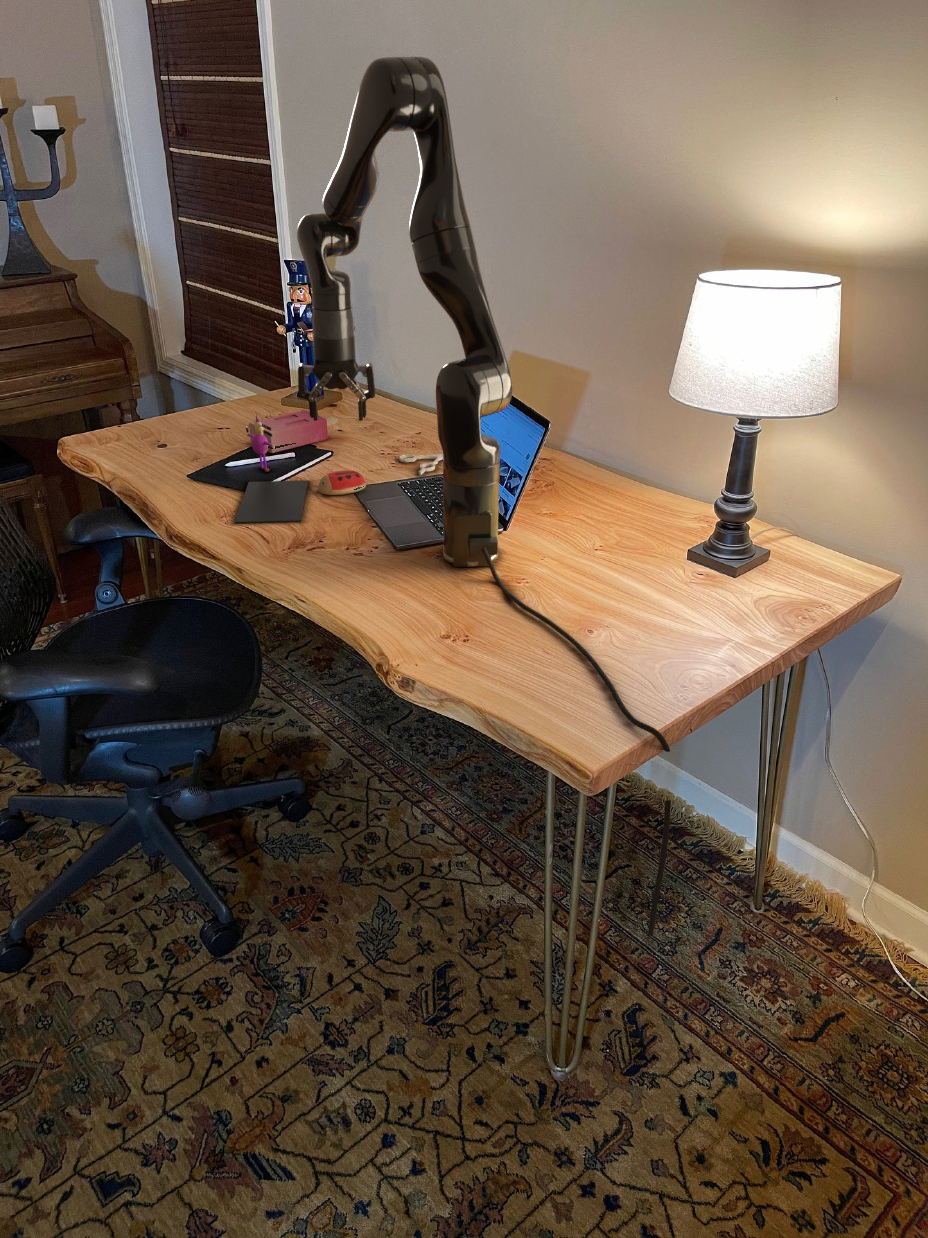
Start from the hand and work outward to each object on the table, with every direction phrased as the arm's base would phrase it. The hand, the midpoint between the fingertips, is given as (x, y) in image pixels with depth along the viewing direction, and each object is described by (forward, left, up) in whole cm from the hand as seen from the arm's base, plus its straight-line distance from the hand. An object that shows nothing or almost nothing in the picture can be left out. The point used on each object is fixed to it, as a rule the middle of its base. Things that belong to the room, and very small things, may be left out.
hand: (338, 419), depth 172 cm
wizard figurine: (+12, +17, -15) cm, 25 cm away
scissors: (+17, -21, -14) cm, 30 cm away
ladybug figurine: (0, 0, -15) cm, 15 cm away
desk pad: (-5, +13, -14) cm, 20 cm away
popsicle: (+32, +11, -15) cm, 37 cm away
